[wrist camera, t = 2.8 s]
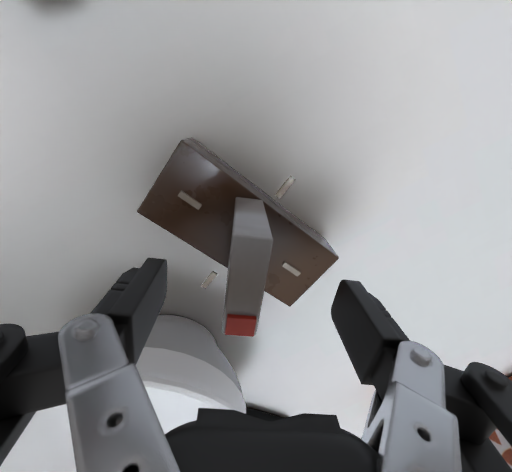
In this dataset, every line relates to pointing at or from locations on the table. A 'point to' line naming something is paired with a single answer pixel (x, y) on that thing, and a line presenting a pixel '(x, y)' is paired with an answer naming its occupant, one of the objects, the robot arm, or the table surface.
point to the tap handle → (246, 267)
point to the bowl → (157, 386)
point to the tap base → (221, 219)
